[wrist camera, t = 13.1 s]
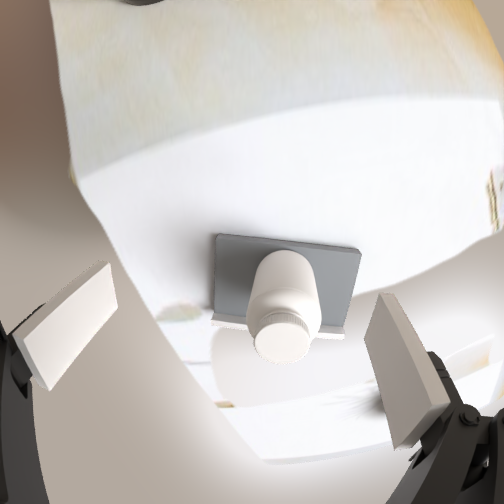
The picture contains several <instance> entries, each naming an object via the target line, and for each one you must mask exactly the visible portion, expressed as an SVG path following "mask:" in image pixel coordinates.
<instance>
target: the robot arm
mask: <svg viewBox="0 0 504 504" xmlns="http://www.w3.org/2000/svg"><path fill="white" fill-rule="evenodd" d="M124 1H126V2H127V3H129V4H132V5H149V4H153V3H157V2H160V1H163V0H124ZM117 308H118V305H117V301H116V296H115V290H114V285H113V279H112V273H111V266H110V262H104V261H97V262H96V263H95V264H93V265H92V266H91V267H89V268H88V269H87V270H86V271H84V272H83V273H82V274H81V275H79V276H78V277H77V278H75V279H74V280H73V281H72V282H71V283H69V284H68V285H67V286H66V287H64V288H63V289H62V290H61V291H60V292H58V293H57V294H56V295H55V296H54V297H52V298H51V299H50V300H49V301H48V302H47V303H45V304H43V305H41V306H39V307H38V308H37V309H36V310H34V311H33V312H32V314H30V315H29V316H28V317H27V319H24V320H23V321H22V322H21V323H20V324H19V325H18V326H17V327H16V328H15V329H14V330H12V331H11V332H10V333H9V334H8V335H6V333H5V331H4V328H3V326H2V324H1V321H0V504H49V500H48V496H47V493H46V489H45V485H44V481H43V476H42V472H41V468H40V461H39V456H38V450H37V443H36V435H35V427H34V416H33V401H32V384H31V381H30V377H32V375H33V377H34V378H35V380H36V381H37V383H38V385H40V386H41V387H43V388H45V389H47V390H49V391H51V389H52V388H53V387H54V385H55V384H56V383H57V382H58V380H59V379H60V378H61V376H62V375H63V374H64V372H65V371H66V370H67V369H68V367H69V366H70V365H71V363H72V362H73V361H74V360H75V358H76V357H77V356H78V355H79V353H80V352H81V351H82V350H83V349H84V347H85V346H86V345H87V344H88V342H89V341H90V340H91V339H92V338H93V336H94V335H95V334H96V333H97V332H98V330H99V329H100V328H101V327H102V326H103V325H104V323H105V322H106V321H107V320H108V319H109V317H110V316H111V315H112V314H113V313H114V312H115V311H116V309H117ZM364 341H365V344H366V347H367V350H368V353H369V356H370V360H371V363H372V366H373V369H374V373H375V376H376V380H377V383H378V387H379V391H380V394H381V398H382V402H383V405H384V409H385V413H386V417H387V421H388V425H389V429H390V433H391V438H392V442H393V446H394V450H401V449H407V448H412V447H413V446H414V445H415V444H416V443H417V442H418V441H419V440H420V441H421V445H422V447H421V448H420V449H419V450H418V451H417V452H416V453H415V454H414V455H413V456H412V457H411V458H410V459H409V461H412V460H413V461H412V463H411V465H410V466H409V468H408V470H407V471H406V473H405V475H404V477H403V478H402V480H401V481H400V483H399V485H398V486H397V488H396V489H395V491H394V492H393V494H392V495H391V497H390V498H389V500H388V501H387V502H386V504H504V408H503V409H501V410H500V411H499V412H498V413H497V414H496V415H495V416H494V417H487V416H481V415H480V413H479V412H478V410H477V409H476V408H474V407H473V406H471V405H468V404H463V402H462V400H461V398H460V395H459V393H458V391H457V389H456V387H455V385H454V383H453V381H452V379H451V378H450V375H449V373H448V371H447V370H446V368H445V366H444V364H443V362H442V360H441V359H440V358H439V357H438V356H437V355H436V354H435V353H434V352H432V351H431V352H426V350H425V348H424V346H423V344H422V342H421V341H420V339H419V337H418V335H417V333H416V331H415V330H414V328H413V326H412V324H411V322H410V321H409V319H408V317H407V315H406V314H405V312H404V310H403V309H402V307H401V305H400V304H399V302H398V300H397V299H396V297H395V295H394V294H391V293H379V295H378V299H377V302H376V305H375V309H374V311H373V314H372V317H371V320H370V323H369V326H368V329H367V332H366V334H365V337H364ZM488 459H489V463H488V466H487V460H488Z"/></svg>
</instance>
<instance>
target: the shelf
mask: <svg viewBox="0 0 504 504" xmlns="http://www.w3.org/2000/svg"><path fill="white" fill-rule="evenodd" d="M280 250H289V251H294V252H297V253H299V254H301V255H302V256H303V257H305V258H306V259H307V261H308V262H309V263H310V265H311V267H312V269H313V273H314V278H315V283H316V288H317V293H318V298H319V304H320V309H321V325H320V328H319V331H318V333H317V334H316V336H315V337H314V338H327V339H344V337H345V332H344V329H343V325H344V322H345V319H346V315H347V311H348V308H349V304H350V301H351V297H352V293H353V289H354V285H355V281H356V277H357V273H358V269H359V264H360V260H361V255H362V254H361V253H360V251H359V250H358V249H351V248H343V247H334V246H326V245H318V244H309V243H301V242H292V241H283V240H274V239H265V238H256V237H247V236H237V235H228V234H219V235H218V236H217V237H216V251H215V288H214V314H213V316H212V319H211V325H213V326H219V327H226V328H234V329H241V330H248V327H247V323H246V314H247V309H248V304H249V300H250V296H251V292H252V288H253V283H254V279H255V275H256V271H257V268H258V266H259V264H260V263H261V261H262V260H263V259H264V258H265V257H266V256H268V255H269V254H271V253H273V252H276V251H280ZM248 331H249V330H248Z"/></svg>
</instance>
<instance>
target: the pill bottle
mask: <svg viewBox="0 0 504 504" xmlns="http://www.w3.org/2000/svg"><path fill="white" fill-rule="evenodd" d="M246 323H247V327H248V330H249V332H250V334H251V335H252V337H253V338H254V347H255V349H256V351H257V353H258V354H259V355H260V356H261V357H262V358H264V359H265V360H267V361H269V362H272V363H275V364H289V363H293V362H296V361H298V360H299V359H301V358H302V357H303V356H305V354H306V353H307V352H308V350H309V347H310V342H311V340H313V338H314V337H315V336H316V334H317V333H318V331H319V328H320V325H321V309H320V304H319V298H318V293H317V288H316V283H315V278H314V273H313V269H312V267H311V265H310V263H309V262H308V261H307V259H306V258H305V257H303V256H302V255H301V254H299V253H297V252H294V251H289V250H280V251H276V252H273V253H271V254H269V255H268V256H266V257H265V258H264V259H263V260H262V261H261V263H260V264H259V266H258V268H257V271H256V275H255V279H254V283H253V288H252V292H251V296H250V300H249V304H248V309H247V314H246Z"/></svg>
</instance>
